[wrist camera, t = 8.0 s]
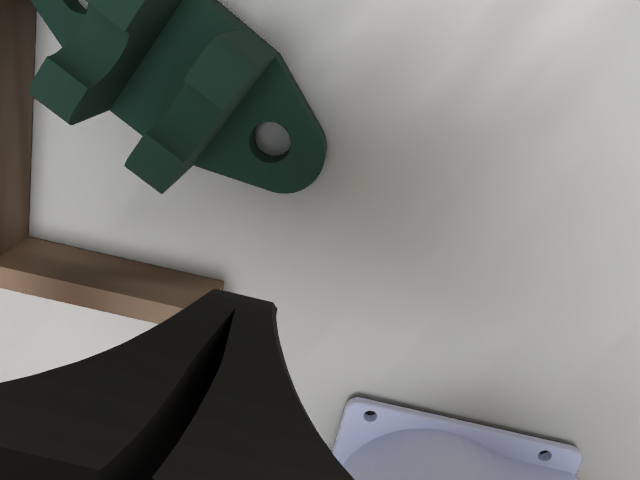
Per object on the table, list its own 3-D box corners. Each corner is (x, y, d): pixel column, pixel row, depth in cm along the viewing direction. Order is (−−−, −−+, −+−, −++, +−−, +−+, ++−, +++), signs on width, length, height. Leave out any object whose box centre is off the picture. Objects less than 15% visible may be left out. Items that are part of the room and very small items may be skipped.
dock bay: (312, -227, 16) (303, -266, 14) (220, 300, 22) (203, 333, 20) (17, -298, 16) (-41, -349, 14) (6, 251, 22) (-35, 279, 20)
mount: (360, 120, 20) (358, 155, 15) (278, 216, 21) (255, 275, 17) (82, -115, 18) (-16, -157, 13) (14, 8, 19) (-98, 9, 15)
